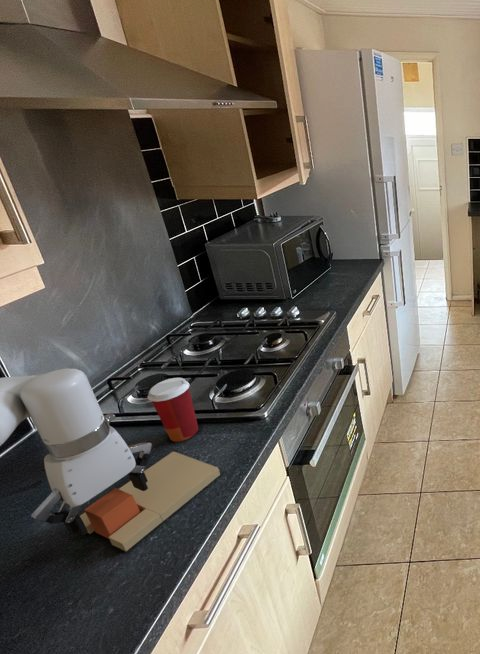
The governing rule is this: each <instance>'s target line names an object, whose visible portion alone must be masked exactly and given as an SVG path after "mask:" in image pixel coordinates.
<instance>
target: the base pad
mask: <svg viewBox="0 0 480 654" xmlns="http://www.w3.org/2000/svg"><path fill="white" fill-rule="evenodd" d="M144 473H145V475H146V478H147V480H148V481H147V482H146V484H147V487H148V489H147V490H145V491H142V490H139V489H137V488H135V487H134V486H133V484H132V482H131V480H129V481H128V482H126V483H125V484H123V485H122V486H121V487H119V488H118V489H119V490H122V491H124V492H126V493H129V494H131V495H133V497H134V499H135V502H136V504H137V506H138V508H139V511H140V513H139V514H138V515H137V516H136V517H134V518H133V519H132V520H130V521H129V522H128V523H126V524H125V525H124V526H122V527H121V528H120V529H119V530H117V531H116V532H115V533H113V534H112V535H111V536H109V541H110V543H111V546H114V547H115V548H117V549H120V550H122V551H124V552H128V551H129V550H130V549H131V548H132V547H134V546H136V544H138V543H139V542H140V541H141V540H142V539H144V537H146V536H147V535H148V534H149V533H151V532H152V531H154V529H156V528H157V527H158V526H159V525H160V524H163V522H164V521H165V520H167V519H168V518H169V517H171V516H172V515H173V514H174V513H175V512H176V511H178V510H179V509H180V508H182V507H183V506H184V505H185V504H186V503H188V502H189V501H190V500H191V499H193V498H194V497H195V496H196V495H197V494H199V493H200V492H201V491H202V490H204V489H205V488H206V487H207V486H209V485H210V484H211V483H212V482H213V481H215V480H216V479H217V478H218V477H219V476H221V472H220V469H219V467H217V466H215V465H212V464H210V463H206V462H204V461H202V460H198V459H197V458H193V457H190V456H188V455H184V454H182V453H179V452H176V451H171V452H170V453H169V454H167V455H166V456H164V457H163V458H161V459H160V460H159V461H157V462H156V463H154V464H153V465H151V466H150V467H148V468H146V470H145V471H144ZM79 516H80V517H81V519H82V521H83V523H84V525H85V526H86V528H87V530H88V532H87V534H89V535H91V534H92V533H94V532H95V530H94V528H93V526H92V524H91V522H90V520H89V518H88V516H87V515H86V513H85V512H83V513H82V514H80V515H79Z"/></svg>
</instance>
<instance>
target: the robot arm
mask: <svg viewBox="0 0 480 654" xmlns="http://www.w3.org/2000/svg"><path fill="white" fill-rule="evenodd" d="M28 418H31V422H32V423H33V424H34V427H35V428H36V431H37V433H38V434H39V436H40V438H41V441H42V442H43V444H44V446H45V448H46V450H47V452H48V453H47V455H45V456H44V458H43V464H44V470H45V474H46V478H47V481H48V484H49V487H50V490H51V493H49V495H48V496H47V497H46V498H45V499H44V500H43V501H42V502H41V503H40V505H39V506H38V507H37V508H36V509H35V510H33V512H32V513H31V515H30V518H32V519H34V520H35V521H40V522H43V523H48V524H60V523H61V524H62V523H63V524H64V526H65V528H66V529H67V532H68V533H70V534H71V535H75V534H76V533H77V534H79V535H81V536H85V535H87V534H88V530H87V528H86V526H85V525H84V523H83V521H82V519H81V517H80V515H78V513H79V511H80V508H81V506H82V505H83V504H85V503H87V502H88V501H91V500H92V499H93V498H95V497H96V496H98V495H99V494H101V493H102V492H104V491H105V490H106V489H108V488H109V487H111V486H112V485H114V484H115V483H117V482H118V481H119V480H121V479H122V478H124V477H125V476H127V475H128V477H129V480H130V481H131V482H132V484H133V486H134V487H135V488H137V489H139V490H142V491H145V490H147V489H148V487H147V484H146V482H147V481H148V480H147V478H146V475H145V473H144V471H146V470H147V467H146V466H147V464H148V462H149V461H150V458H151V454H150V453H151V451H152V448H153V443H152V442H149V441H143V442H138V443H134V444H130V445H128V444H127V443H126V441H125V440H124V438H123V437H122V436H121V434H120V433H119V432H118V431H117V430H116V429H115V428H114V427H113V426H111V424H110V423H112V422H113V421H114V420H115V419H116V415H115V414H114V413H113V412H110V413H108V414H104V413H103V411H102V409H101V407H100V404H99V402H98V400H97V397H96V395H95V393H94V391H93V388H92V386H91V384H90V381H89V379H88V377H87V375H86V373H85V372H84V371H82V370H80V369H78V368H69V367H68V368H61V369H56V370H51V371H49V372H46V373H43V374H35V375H20V376H19V375H17V376H5V377H0V447H1V446H2V445H3V444H5V442H6V441H7V440H8V439H9V438H10V437H11V435H12V434H13V433H14V431H15V430H16V429H17V427H18V426H19V425H20V423H22V422H23V421H24V420H26V419H28ZM135 453H139V454H138V455H137V457H136V458H135V457H134V455H133V454H135ZM58 502H59V503H61V505H60V507H59V509H58V511H54V512H51V510H52V509H53V508H54V507H55V506H56V505H57V504H58Z"/></svg>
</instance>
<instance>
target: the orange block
mask: <svg viewBox="0 0 480 654" xmlns="http://www.w3.org/2000/svg"><path fill="white" fill-rule="evenodd" d="M83 510H84V513H86V515H87V516H88V518H89V520H90V522H91V524H92V526H93V528H94V530H95V531H94V532H95V533H96V534H98V535H100V536H102V537H104V538H106V539H107V540H108V539H109V536H111V535H112V534H113V533H115V532H116V531H117V530H119V529H120V528H121V527H122V526H124V525H125V524H126V523H128V522H129V521H130V520H132V519H133V518H134V517H136V516H137V515H138V514H139V513H141V512H140V511H139V508H138V506H137V504H136V502H135V499H134V497H133V495H131V494H129V493H126V492H124V491H122V490H119V488H116V487H115V488H113V489H111V490H110V491H109V492H107V493H106V494H105V495H102V496H101V497H100V498H98V499H97V500H96V501H95V502H92V503H91V504H90V505H88V506H87V507H86V508H84V509H83ZM109 540H110V539H109Z"/></svg>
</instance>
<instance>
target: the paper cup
mask: <svg viewBox="0 0 480 654" xmlns="http://www.w3.org/2000/svg"><path fill="white" fill-rule="evenodd" d="M190 386H191V385H190V383H189V382H188V381H187V380H186V379H185V378H183V377H172V378H167V379H164V380H162V381H160V382H158V383H156V384H155V385H153V386H152V387H151V388H150V390H149V391H148V394H147V400H148V401H151V403H152V404H153V407H154V409H155V411H156V413H157V415H158V417H159V420H160V422H161V423H162V426H163V427H164V430H165V432H166V433H167V436H168V437H169V440H171V441H172V442H175V443H177V442H179V443H180V442H183V441H186V440H189V439H190V438H192V437H193V436H195V435H196V434H197V433H198V431H199V425H198V421H197V416H196V412H195V411H196V410H195V409H194V403H193V399H192V395H191V394H192V393H191V391H190Z"/></svg>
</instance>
